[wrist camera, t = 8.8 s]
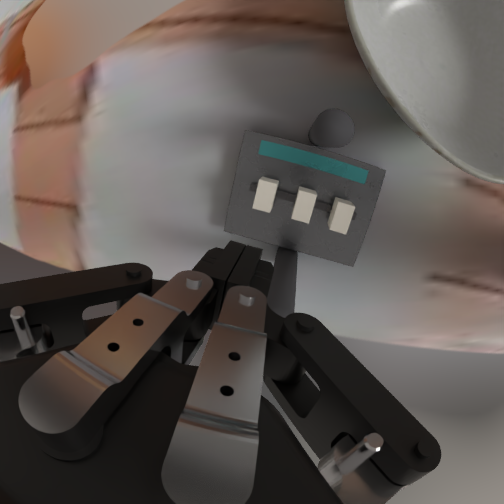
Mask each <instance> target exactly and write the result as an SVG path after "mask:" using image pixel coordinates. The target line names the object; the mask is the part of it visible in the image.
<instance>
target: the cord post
mask: <svg viewBox="0 0 504 504" xmlns="http://www.w3.org/2000/svg"><path fill="white" fill-rule="evenodd" d="M296 275H297V251H295V250H292V249H288V248H284V247H281V246H280V247H279V248H278V250H277V254H276V258H275V263H274V272H273V277H272V281H271V285H270V289H269V293H268V297H267V304H268V306H269V307H270V309H271V310H272V311H274V312H275V313H276V314H278V315H280V316H282V317H284V318H286V316H288V315H289V314H292V313H294V307H295V292H296Z"/></svg>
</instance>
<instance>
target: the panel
mask: <svg viewBox="0 0 504 504" xmlns="http://www.w3.org/2000/svg"><path fill="white" fill-rule="evenodd" d="M385 173H386V170H383V169H380V168H378V167H375V166H372V165H369V164H367V163H364V162H361V161H358V160H355V159H352V158H349V157H346V156H343V155H340V154H337V153H333V152H330V151H327V150H323V149H320V148H317V147H313V146H310V145H306V144H302V143H298V142H295V141H291V140H287V139H283V138H279V137H275V136H270V135H266V134H261V133H257V132H252V131H247V130H245V133H244V138H243V142H242V147H241V151H240V156H239V160H238V165H237V169H236V174H235V179H234V183H233V188H232V193H231V198H230V203H229V208H228V213H227V218H226V223H225V228H224V231H226V232H229V233H233V234H237V235H240V236H244V237H248V238H252V239H255V240H259V241H263V242H266V243H270V244H273V245H277V246H281V247H284V248H288V249H292V250H295V251H299V252H302V253H306V254H310V255H313V256H317V257H320V258H324V259H327V260H331V261H334V262H338V263H341V264H345V265H348V266H352V267H353V266H354V263H355V261H356V258H357V255H358V253H359V250H360V248H361V245H362V242H363V240H364V237H365V234H366V231H367V228H368V226H369V223H370V220H371V217H372V214H373V211H374V208H375V205H376V202H377V199H378V196H379V192H380V189H381V186H382V183H383V179H384V176H385ZM261 177H266V178H270V179H274V180H278V181H279V183H278V187H277V191H276V195H275V199H274V203H273V207H272V209H271V212H270V213H268V212H265V211H261V210H257V209H253V204H254V199H255V195H256V191H257V187H258V182H259V179H260V178H261ZM299 186H300V187H304V188H307V189H311V190H314V191H316V193H317V197H316V201H315V204H314V208H313V211H312V214H311V218H310V221H309V224H308V223H305V222H301V221H298V220H294V219H291V218H292V211H293V208H294V204H295V201H296V197H297V193H298V189H299ZM335 197H338V198H341V199H344V200H347V201H350V202H352V203H353V205H354V206H355V210H354V213H353V216H352V219H351V222H350V225H349V228H348V231H347V233H346V234H342V233H339V232H336V231H332V230H330V229H329V226H328V219H329V216H330V213H331V210H332V206H333V203H334V200H335Z"/></svg>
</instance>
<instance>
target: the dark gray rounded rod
mask: <svg viewBox="0 0 504 504" xmlns="http://www.w3.org/2000/svg"><path fill="white" fill-rule="evenodd" d="M354 131H355V128H354V123H353V121H352V119H351V118H350V116H349V115H348V114H347V113H345V112H344V111H342V110H339V109H328V110H325V111H323V112H322V113H321V114H320V115H319V116H318V117H317V119H316V121H315V122H314V124H313V125H312V127H311V129H310V130H309V134H308V136H309V140H310V141H311V143H312V144H314V145H316V146H320V147H342V146H345V145H347V144H348V143H349V142H350V141H351V140H352V138H353V136H354Z"/></svg>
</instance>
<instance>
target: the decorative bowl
mask: <svg viewBox="0 0 504 504" xmlns="http://www.w3.org/2000/svg"><path fill="white" fill-rule="evenodd" d="M344 3H345V11H346V15H347V20H348V24H349V27H350V30H351V34H352V36H353V39H354V42H355V45H356V47H357V49H358V52H359V54H360V56H361V59H362V60H363V63H364V65H365V67H366V68H367V70H368V72H369V74H370V76H371V77H372V79H373V81H374V82H375V84H376V86H377V87H378V89H379V90H380V92H381V93H382V94H383V96H384V97H385V99H386V100H387V101H388V103H389V104H390V105H391V107H392V108H393V109H394V110H395V112H396V113H397V114H398V115H399V116H400V118H401V119H402V120H403V121H404V122H405V123H406V124H407V125H408V126H409V127H410V128H411V129H412V130H413V131H414V132H415V133H416V134H417V135H418V136H419V137H420V138H421V139H422V140H423V141H424V142H425V143H426V144H427V145H429V146H430V147H431V148H432V149H433V150H435V151H436V152H437V153H438V154H439V155H441V156H442V157H443V158H445V159H446V160H447V161H449V162H450V163H452V164H453V165H455V166H456V167H458V168H460V169H461V170H463V171H465V172H467V173H468V174H471V175H473V176H475V177H477V178H480V179H482V180H485V181H488V182H492V183H498V184H504V0H344Z"/></svg>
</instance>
